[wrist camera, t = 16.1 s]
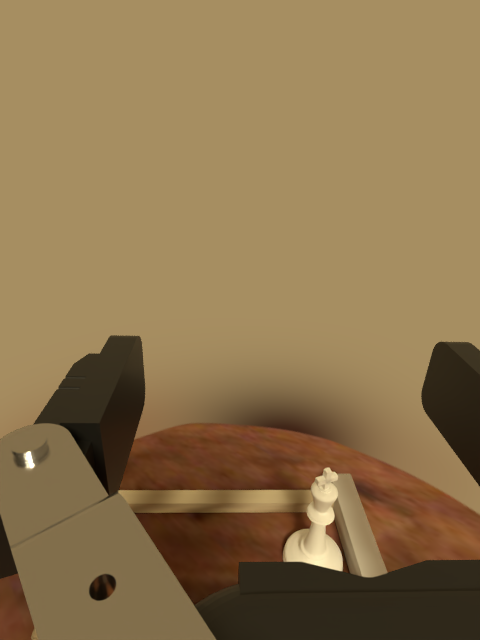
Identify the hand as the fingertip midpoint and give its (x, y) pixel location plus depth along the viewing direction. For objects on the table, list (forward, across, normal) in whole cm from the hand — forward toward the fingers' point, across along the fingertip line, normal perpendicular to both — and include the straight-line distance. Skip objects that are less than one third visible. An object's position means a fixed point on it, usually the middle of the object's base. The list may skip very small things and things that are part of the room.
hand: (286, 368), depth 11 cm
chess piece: (+12, -6, +26) cm, 29 cm away
